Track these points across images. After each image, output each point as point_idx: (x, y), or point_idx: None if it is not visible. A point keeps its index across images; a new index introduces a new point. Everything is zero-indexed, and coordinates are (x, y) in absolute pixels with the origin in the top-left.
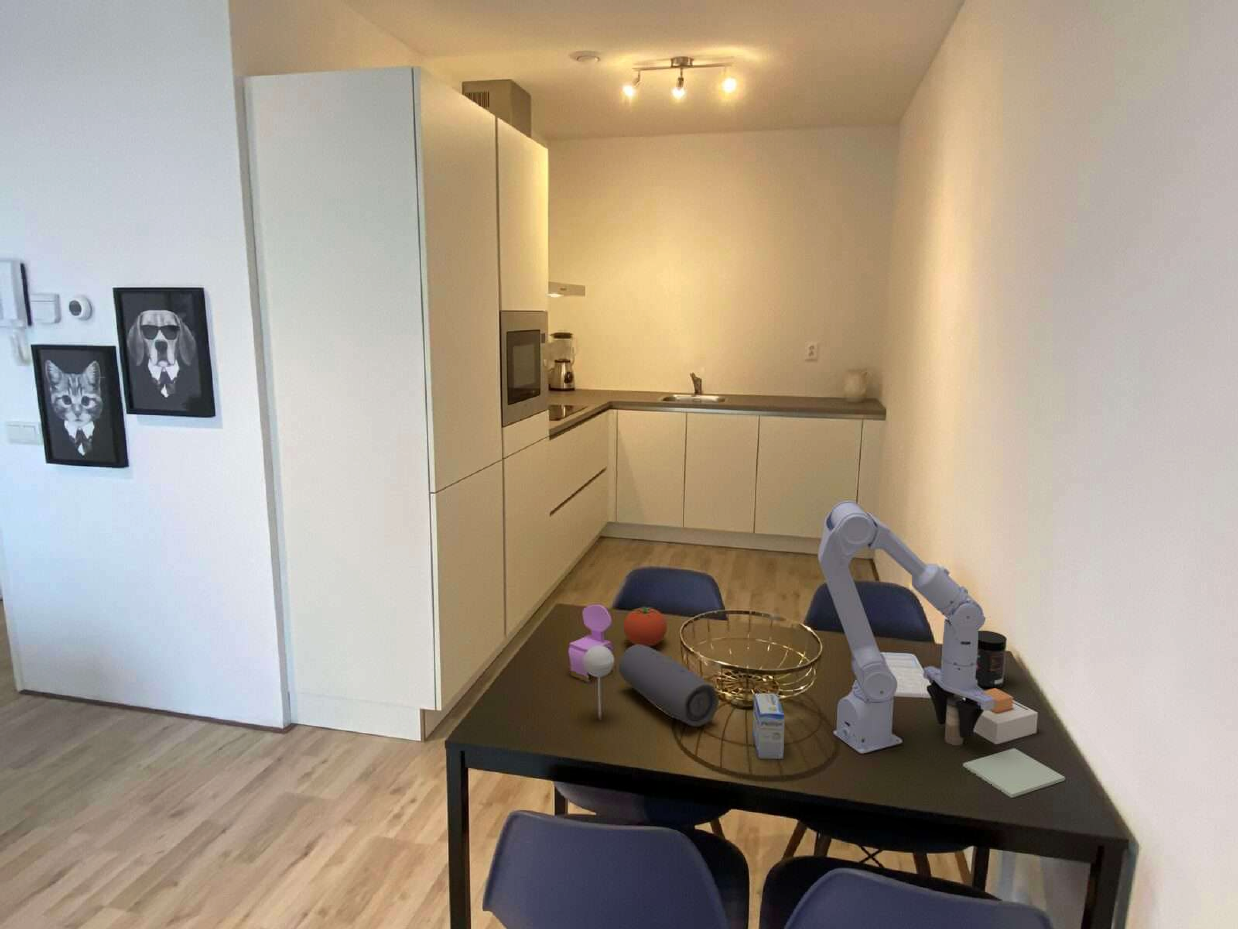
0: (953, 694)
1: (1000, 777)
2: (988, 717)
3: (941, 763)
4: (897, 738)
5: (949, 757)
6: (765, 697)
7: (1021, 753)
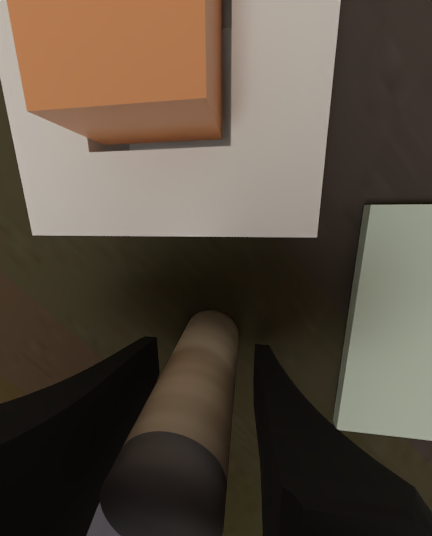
0: (61, 421)
1: None
2: (239, 224)
3: None
4: None
5: None
6: None
7: (415, 211)
